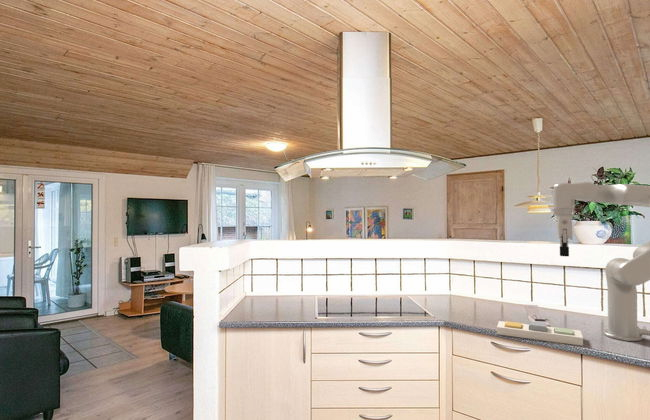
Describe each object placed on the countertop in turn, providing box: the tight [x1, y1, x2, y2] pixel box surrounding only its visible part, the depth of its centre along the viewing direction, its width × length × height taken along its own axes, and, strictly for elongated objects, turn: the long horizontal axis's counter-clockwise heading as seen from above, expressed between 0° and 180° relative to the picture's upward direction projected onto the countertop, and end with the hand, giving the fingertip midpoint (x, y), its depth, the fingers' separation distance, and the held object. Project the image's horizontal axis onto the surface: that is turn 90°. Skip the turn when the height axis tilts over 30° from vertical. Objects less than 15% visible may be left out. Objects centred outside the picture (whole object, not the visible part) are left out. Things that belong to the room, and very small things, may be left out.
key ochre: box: [505, 320, 523, 329], centre depth 163 cm, size 6×6×2 cm
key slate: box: [529, 321, 547, 332], centre depth 159 cm, size 6×6×2 cm
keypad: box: [496, 320, 584, 346], centre depth 159 cm, size 30×10×3 cm, turn 61°
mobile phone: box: [524, 304, 551, 327], centre depth 177 cm, size 6×6×25 cm
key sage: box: [554, 326, 573, 335], centre depth 154 cm, size 6×6×2 cm
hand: (564, 255), depth 164 cm, fingers closed
